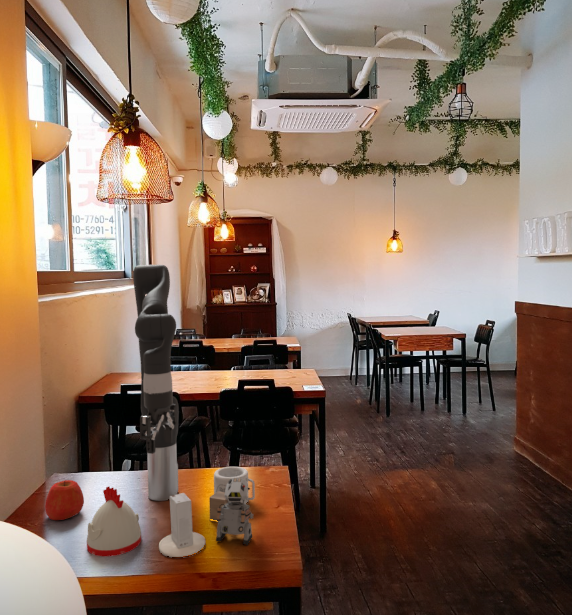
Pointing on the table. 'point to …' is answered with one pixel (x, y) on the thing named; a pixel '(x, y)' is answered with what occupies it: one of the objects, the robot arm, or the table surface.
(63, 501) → the apple
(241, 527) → the figurine
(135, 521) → the kitchen timer
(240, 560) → the table surface
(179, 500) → the skincare box
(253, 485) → the mug
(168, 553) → the white glossy disc
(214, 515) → the walnut block
